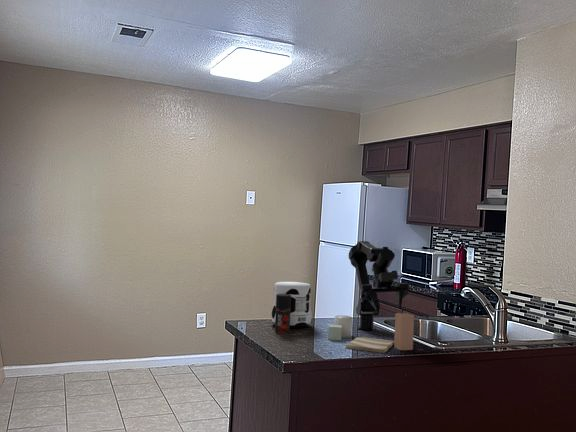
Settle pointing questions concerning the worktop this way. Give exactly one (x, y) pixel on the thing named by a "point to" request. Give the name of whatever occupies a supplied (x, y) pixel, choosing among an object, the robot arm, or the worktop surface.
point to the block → (334, 332)
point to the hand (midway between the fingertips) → (388, 309)
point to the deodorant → (282, 313)
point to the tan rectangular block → (404, 331)
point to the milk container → (295, 302)
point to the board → (370, 344)
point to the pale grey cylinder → (344, 324)
